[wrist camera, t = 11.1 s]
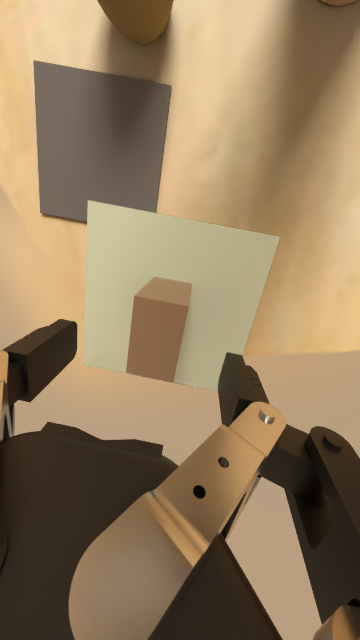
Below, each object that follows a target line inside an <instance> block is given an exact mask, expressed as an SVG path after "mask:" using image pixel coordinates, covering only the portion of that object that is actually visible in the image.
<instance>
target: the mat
mask: <svg viewBox="0 0 360 640" xmlns="http://www.w3.org/2000/svg"><path fill="white" fill-rule="evenodd" d="M34 83H35V105H36V127H37V149H38V171H39V193H40V213H44V214H49V215H54V216H60V217H65V218H70V219H76V220H81V221H86V222H87V209H88V200H90V201H95V202H100V203H106V204H111V205H116V206H121V207H127V208H132V209H137V210H142V211H148V212H153V213H156V208H157V200H158V192H159V184H160V176H161V168H162V160H163V152H164V144H165V136H166V128H167V120H168V112H169V104H170V96H171V85H166V84H160V83H155V82H149V81H144V80H138V79H133V78H127V77H122V76H116V75H111V74H105V73H100V72H94V71H89V70H84V69H78V68H73V67H67V66H62V65H56V64H51V63H45V62H40V61H34Z"/></svg>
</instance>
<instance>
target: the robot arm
mask: <svg viewBox="0 0 360 640" xmlns="http://www.w3.org/2000/svg"><path fill="white" fill-rule="evenodd" d="M321 1H322V2H324V3H327V4H330V5H345V4H349V3H353V2H355V1H357V0H321ZM76 351H77V324H76V322H74V321H69V320H64V319H59V320H57V321H56V322H54V323H53V324H51V325H50V326H46V327H43V328H39V329H37V330H35V331H33V332H32V333H30V334H29V335H26V336H25V337H24V338H23V339H20V340H18V341H17V342H15V343H13V344H11V345H10V346H8V347H6V348H5V349H3V350H0V640H283V639H282V638H281V636H280V634H279V633H278V631H277V629H276V627H275V626H274V624H273V622H272V620H271V619H270V617H269V615H268V614H267V612H266V610H265V608H264V607H263V605H262V603H261V601H260V600H259V598H258V596H257V595H256V593H255V591H254V589H253V588H252V586H251V584H250V582H249V581H248V579H247V577H246V576H245V574H244V572H243V570H242V569H241V567H240V565H239V564H238V562H237V560H236V558H235V557H234V555H233V553H232V551H231V550H230V548H229V546H228V545H227V543H226V540H227V539H228V537H229V535H230V533H231V531H232V529H233V528H234V526H235V524H236V522H237V520H238V518H239V516H240V514H241V512H242V510H243V509H244V507H245V505H246V503H247V502H248V500H249V498H250V497H251V495H252V493H253V492H254V490H255V488H256V486H257V485H258V483H259V481H260V479H261V477H264V478H265V479H267V480H269V481H271V482H273V483H275V484H277V485H279V486H281V487H283V488H284V489H285V493H286V496H287V500H288V503H289V507H290V511H291V514H292V518H293V522H294V525H295V529H296V533H297V536H298V540H299V543H300V547H301V551H302V554H303V558H304V561H305V565H306V569H307V572H308V576H309V579H310V583H311V587H312V590H313V594H314V598H315V601H316V605H317V608H318V612H319V616H320V619H321V622H322V626H321V627H320V628H319V629H318V630H317V631H316V633H315V635H314V638H313V640H360V458H359V457H358V455H357V454H356V452H355V451H354V449H353V448H352V446H351V445H350V444H349V443H348V442H347V441H346V440H345V439H344V438H343V437H342V436H340V435H339V434H337V433H336V432H334V431H332V430H330V429H327V428H325V427H319V426H317V427H313V428H312V429H311V431H310V433H309V434H307V433H305V432H303V431H300V430H298V429H296V428H293V427H291V426H289V425H287V424H286V419H285V417H284V415H283V414H282V413H281V412H280V411H279V410H278V409H276V408H275V407H274V406H272V405H270V404H269V401H268V399H267V396H266V394H265V391H264V389H263V387H262V384H261V382H260V379H259V377H258V374H257V372H256V371H255V370H254V369H253V368H252V367H251V366H247V365H245V362H244V359H243V357H242V355H240V354H235V353H230V352H227V353H226V356H225V359H224V362H223V366H222V369H221V373H220V376H219V381H218V394H219V402H220V411H221V419H222V425H221V426H220V427H219V428H218V429H217V430H216V431H215V432H214V433H213V434H212V435H211V436H210V437H209V438H208V439H207V440H206V441H205V442H204V443H203V444H201V446H199V448H197V450H195V451H194V452H193V453H192V454H191V455H190V456H189V457H188V458H187V459H186V460H185V461H184V462H183V463H182V464H181V465H180V466H178V465H176V464H175V463H174V462H173V461H171V460H170V459H168V458H167V457H164V456H163V455H162V449H163V445H160V444H155V443H150V442H145V441H140V440H136V439H130V440H101V439H98V438H96V437H94V436H92V435H90V434H88V433H86V432H84V431H82V430H80V429H78V428H76V427H70V426H66V425H61V424H56V423H51V422H47V424H46V425H45V426H44V427H43V429H42V430H41V431H36V432H28V433H23V434H19V435H16V436H14V428H15V427H14V426H15V407H14V403H15V402H16V401H17V400H22V401H27V402H31V401H32V400H33V399H34V398H35V397H36V396H37V395H38V394H39V393H40V392H41V391H42V390H43V389H44V388H45V387H46V386H47V385H48V384H49V383H50V382H51V381H52V380H53V379H54V378H55V377H56V376H57V375H58V374H59V373H60V372H61V371H62V370H63V369H64V368H65V367H66V366H67V365H68V363H70V362H71V361H72V360H73V358H74V357H75V355H76Z"/></svg>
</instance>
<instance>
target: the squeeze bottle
mask: <svg viewBox="0 0 360 640" xmlns="http://www.w3.org/2000/svg"><path fill="white" fill-rule="evenodd" d="M98 2H99V4H100V6H101V7H102V9H103V10H104V12H105V14H106V15H107V17H108V18H109V20H110V21H111V22H112V23H113V24H114V25H115V26H117V27H118V28H119V29H120V30H121V31H122V32H123V33H124V34H125V35H126V36H127V37H128V38H130V39H131V40H133V41H134V42H135V43H141V44H148V43H150V42H152V41H154V40H156V39H157V38H158V37H159V36H160V35H161V34H162V32H163V31H164V30H165V27H166V25H167V22H168V20H169V17H170V13H171V9H172V4H173V0H98Z"/></svg>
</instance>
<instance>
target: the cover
mask: <svg viewBox="0 0 360 640" xmlns="http://www.w3.org/2000/svg"><path fill="white" fill-rule="evenodd" d="M279 239H280V237H279V236H274V235H268V234H263V233H258V232H253V231H247V230H242V229H237V228H232V227H226V226H221V225H216V224H211V223H205V222H200V221H195V220H190V219H184V218H179V217H174V216H169V215H163V214H158V213H153V212H148V211H142V210H137V209H132V208H127V207H121V206H116V205H111V204H106V203H100V202H95V201H90V200H88V209H87V249H86V289H85V328H84V365H86V366H91V367H96V368H101V369H106V370H111V371H117V372H122V373H127V374H132V375H137V376H142V377H147V378H152V379H157V380H162V381H167V382H172V383H177V384H182V385H188V386H192V387H197V388H203V389H207V390H213V391H217V392H218V381H219V376H220V373H221V369H222V366H223V362H224V359H225V356H226V353H227V352H230V353H235V354H240V355H243V352H244V349H245V346H246V343H247V339H248V336H249V333H250V330H251V327H252V324H253V321H254V318H255V314H256V311H257V308H258V305H259V302H260V299H261V296H262V293H263V289H264V286H265V283H266V280H267V277H268V274H269V271H270V267H271V264H272V261H273V258H274V255H275V252H276V249H277V246H278V242H279Z"/></svg>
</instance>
